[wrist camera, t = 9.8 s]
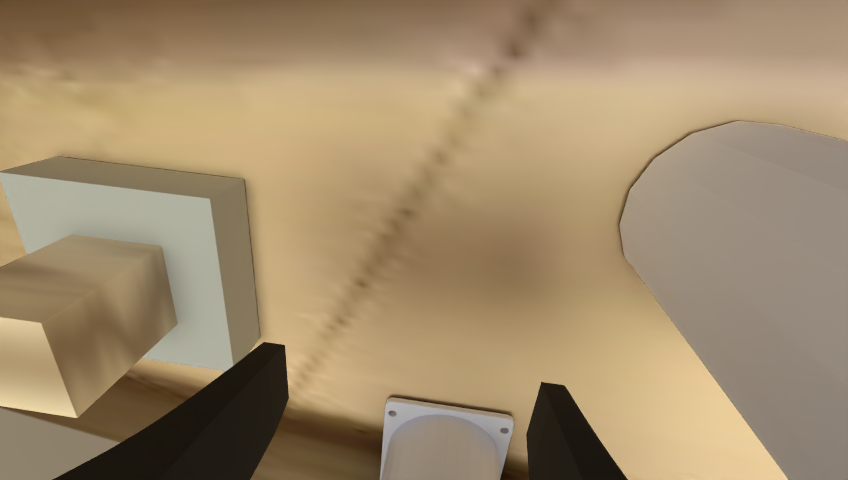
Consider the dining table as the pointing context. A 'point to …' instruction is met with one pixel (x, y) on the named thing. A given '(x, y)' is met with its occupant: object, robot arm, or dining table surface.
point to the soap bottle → (756, 277)
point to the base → (155, 242)
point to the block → (79, 320)
